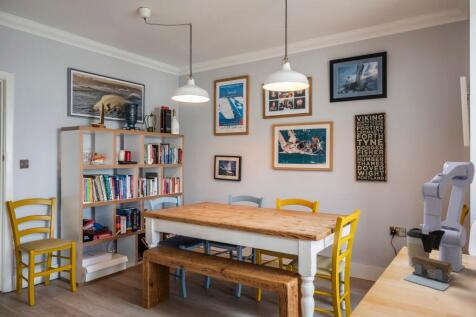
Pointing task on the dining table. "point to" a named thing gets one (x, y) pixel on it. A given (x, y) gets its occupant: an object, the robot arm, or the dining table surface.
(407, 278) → the mat
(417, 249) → the coffee cup
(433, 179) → the robot arm
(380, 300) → the dining table surface
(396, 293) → the dining table surface
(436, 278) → the stand
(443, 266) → the rail
